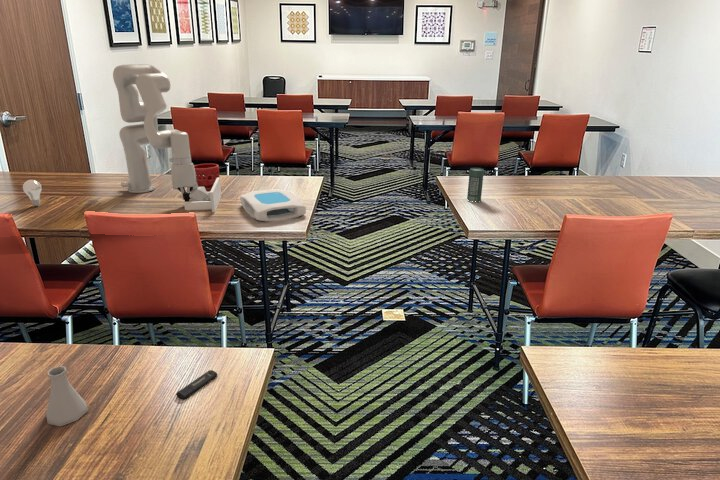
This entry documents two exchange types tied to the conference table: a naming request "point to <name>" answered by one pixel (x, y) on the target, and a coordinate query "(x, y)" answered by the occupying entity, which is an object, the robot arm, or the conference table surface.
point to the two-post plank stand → (212, 195)
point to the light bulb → (33, 191)
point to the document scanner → (272, 204)
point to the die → (198, 194)
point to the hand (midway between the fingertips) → (187, 201)
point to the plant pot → (206, 175)
